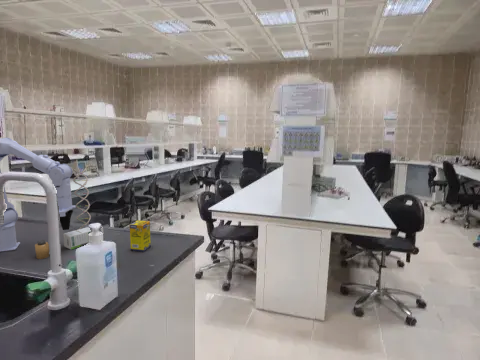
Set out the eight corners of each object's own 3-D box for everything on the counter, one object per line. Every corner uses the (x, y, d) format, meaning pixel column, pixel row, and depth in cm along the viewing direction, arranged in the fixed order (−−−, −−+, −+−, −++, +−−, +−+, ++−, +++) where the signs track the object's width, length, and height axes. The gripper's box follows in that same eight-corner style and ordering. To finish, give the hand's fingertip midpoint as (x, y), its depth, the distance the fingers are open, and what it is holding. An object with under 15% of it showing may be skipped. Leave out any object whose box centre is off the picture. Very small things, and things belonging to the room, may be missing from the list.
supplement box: (144, 252, 123) (142, 225, 121) (130, 250, 124) (128, 224, 122) (151, 246, 129) (150, 221, 127) (138, 245, 130) (136, 219, 128)
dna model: (75, 233, 143) (69, 168, 138) (78, 229, 149) (73, 166, 144) (91, 232, 145) (86, 168, 139) (93, 228, 151) (89, 166, 146)
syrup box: (69, 236, 123) (104, 227, 135) (62, 233, 127) (96, 224, 138) (70, 250, 124) (104, 239, 136) (63, 246, 128) (97, 236, 139)
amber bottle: (35, 259, 116) (33, 244, 114) (37, 255, 119) (35, 240, 118) (48, 257, 117) (47, 242, 116) (50, 253, 121) (49, 238, 120)
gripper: (72, 199, 116) (76, 233, 119) (76, 191, 129) (78, 222, 132) (51, 200, 113) (54, 236, 116) (56, 192, 127) (59, 224, 129)
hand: (66, 229), depth 124 cm, fingers closed
